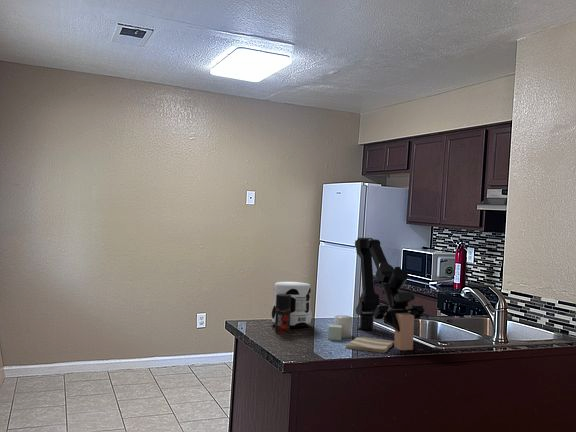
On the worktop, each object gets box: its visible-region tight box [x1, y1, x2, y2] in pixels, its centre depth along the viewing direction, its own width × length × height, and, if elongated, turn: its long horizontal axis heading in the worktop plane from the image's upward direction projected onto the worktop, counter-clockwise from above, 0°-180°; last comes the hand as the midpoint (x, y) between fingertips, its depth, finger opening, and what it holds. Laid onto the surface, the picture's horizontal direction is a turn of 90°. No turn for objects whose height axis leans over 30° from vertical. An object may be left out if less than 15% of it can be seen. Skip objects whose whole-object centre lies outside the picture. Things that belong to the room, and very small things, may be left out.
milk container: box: [270, 281, 313, 329], centre depth 237 cm, size 17×17×18 cm
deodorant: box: [274, 294, 291, 335], centre depth 224 cm, size 6×6×15 cm
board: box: [345, 336, 394, 354], centre depth 205 cm, size 16×14×1 cm
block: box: [327, 324, 343, 341], centre depth 216 cm, size 5×5×5 cm
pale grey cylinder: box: [333, 314, 353, 338], centre depth 222 cm, size 7×7×8 cm
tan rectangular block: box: [393, 313, 415, 351], centre depth 204 cm, size 5×5×12 cm
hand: (405, 331), depth 203 cm, fingers closed on tan rectangular block, 5 cm apart
